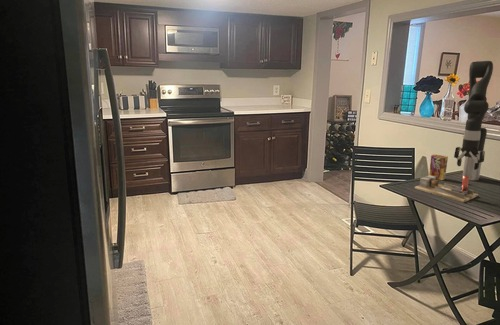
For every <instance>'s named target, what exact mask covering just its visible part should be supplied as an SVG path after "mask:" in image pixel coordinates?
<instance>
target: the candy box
mask: <svg viewBox="0 0 500 325" xmlns="http://www.w3.org/2000/svg"><path fill="white" fill-rule="evenodd" d="M448 158H449V156H447V155H442V154H435V153H434V154H431V155H430V166H429V173H428V176H429V175H431V176H435V177H436V180H438V181H443V180H444V181H445V180H446V175H447V174H446V173H447V167H448Z"/></svg>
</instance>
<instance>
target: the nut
mask: <svg viewBox="0 0 500 325" xmlns="http://www.w3.org/2000/svg"><path fill="white" fill-rule="evenodd" d="M439 181H440V180H439V179H436V180H431V188H435V186H437V187H438V184H440V182H439Z"/></svg>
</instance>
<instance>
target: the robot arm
mask: <svg viewBox="0 0 500 325" xmlns="http://www.w3.org/2000/svg"><path fill="white" fill-rule="evenodd" d="M468 71H469V73H468V76H469V83H468V84H469V87H468V89H469V90H468V99H467V100H466V102H465V103H464V105H463V106H464V107H463V110H464V113H466V114H467V120H466V121H465V128H464V132H463V136H462V137H463V139H462V146H457V147H455V150H454V154H453V155H454V156H453V157H454V159H456V160H457V161H456V165H457V167H461V166H462V160H463V158H464V162H463V170H462V176H461V177H462V179H463V176H464V175H466V176H469V181H479V180H480V175H481V169H482V163H483V162H485V155H486V154H485V152H486V151H485V150H484V148H485V144H486V143H485V142H486V139H487V133H488V131H487V128H486V127H482V125H483V120H484V118H485V115H486V113H488V112H487V111H488V110H489V103H488V102H487V100H488V99H487V91H488V87H489V84H490V81H491V79H492V78H491V77H492V75H493V71H494V64H493V61H491V60H479V61H472V62H471V63H470V64H469V70H468ZM477 79H479V80H478V81H477ZM460 151H461V154H460Z"/></svg>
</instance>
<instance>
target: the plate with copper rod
mask: <svg viewBox="0 0 500 325" xmlns="http://www.w3.org/2000/svg"><path fill="white" fill-rule="evenodd" d="M462 176H463V175H462ZM469 181H470V180H469V176H466V175H464V176H463V178H462V182H461V186H458V185H457V186H458V187H455V188H453V189H451V190H452V191H455V192H459V193H463V194H465V196H466V195H468V194H469V190H471V189H470V188H469Z"/></svg>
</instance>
